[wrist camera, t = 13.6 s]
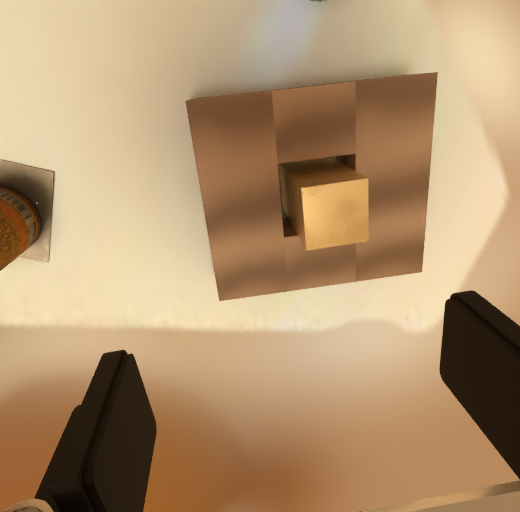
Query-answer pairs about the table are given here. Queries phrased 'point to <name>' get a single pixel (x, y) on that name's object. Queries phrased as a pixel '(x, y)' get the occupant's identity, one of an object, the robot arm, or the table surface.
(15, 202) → the condiment
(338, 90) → the socket block
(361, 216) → the square peg
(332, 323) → the table surface
